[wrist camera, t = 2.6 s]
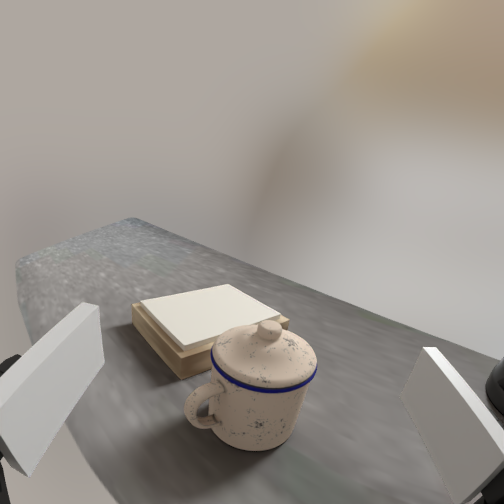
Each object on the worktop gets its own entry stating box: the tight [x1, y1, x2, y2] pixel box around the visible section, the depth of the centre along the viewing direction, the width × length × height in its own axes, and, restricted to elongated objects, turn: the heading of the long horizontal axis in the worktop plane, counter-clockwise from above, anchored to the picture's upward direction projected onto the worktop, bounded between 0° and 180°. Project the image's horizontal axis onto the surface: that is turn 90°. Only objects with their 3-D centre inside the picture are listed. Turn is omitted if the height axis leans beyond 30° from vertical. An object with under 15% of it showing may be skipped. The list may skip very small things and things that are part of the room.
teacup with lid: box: [184, 320, 317, 451], centre depth 24 cm, size 12×9×12 cm
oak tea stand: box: [132, 284, 289, 380], centre depth 41 cm, size 18×14×4 cm
